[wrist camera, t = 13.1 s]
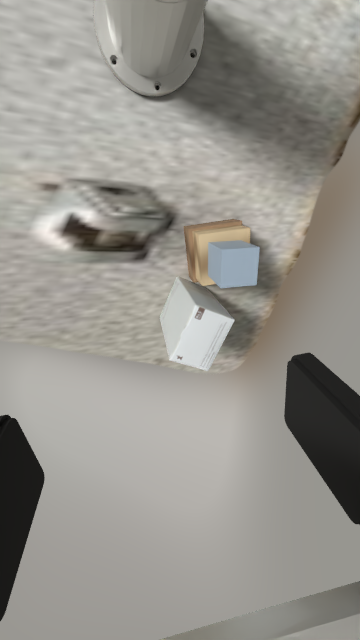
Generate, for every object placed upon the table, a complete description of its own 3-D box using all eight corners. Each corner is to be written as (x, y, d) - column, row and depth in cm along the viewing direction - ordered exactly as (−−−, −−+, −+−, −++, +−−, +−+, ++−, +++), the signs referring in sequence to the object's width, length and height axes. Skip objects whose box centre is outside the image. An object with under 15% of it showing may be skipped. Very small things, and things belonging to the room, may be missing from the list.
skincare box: (187, 326, 49) (209, 375, 36) (157, 316, 48) (167, 363, 34) (208, 285, 47) (238, 321, 33) (176, 272, 45) (195, 305, 32)
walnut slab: (183, 226, 42) (188, 229, 39) (232, 218, 43) (242, 221, 40) (188, 275, 46) (193, 282, 42) (234, 268, 47) (243, 274, 43)
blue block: (208, 242, 36) (221, 249, 31) (240, 240, 37) (259, 247, 31) (207, 275, 38) (220, 288, 32) (238, 273, 38) (256, 285, 33)
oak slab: (192, 231, 39) (198, 234, 35) (239, 224, 40) (250, 227, 36) (196, 278, 42) (202, 285, 38) (239, 271, 43) (249, 278, 39)
